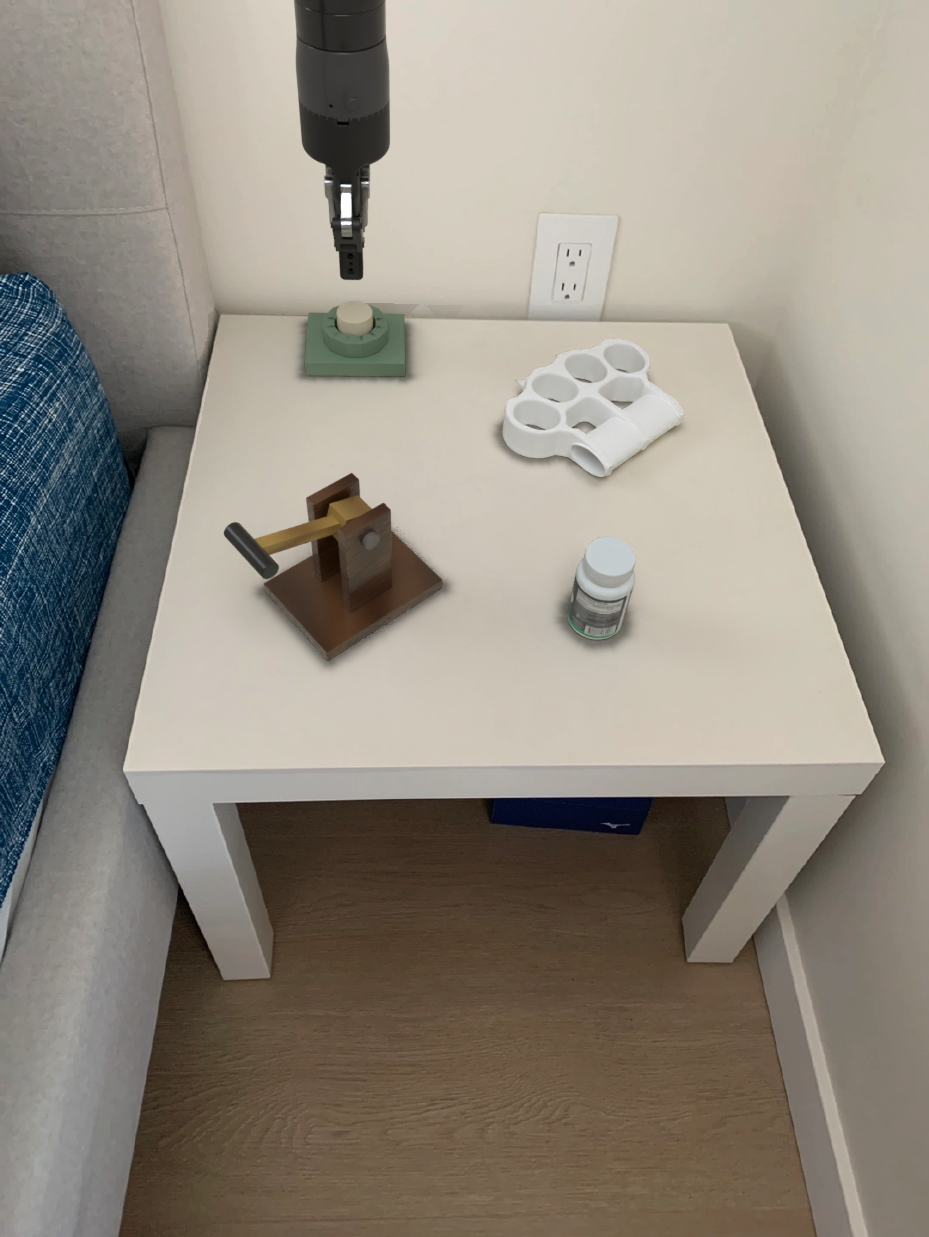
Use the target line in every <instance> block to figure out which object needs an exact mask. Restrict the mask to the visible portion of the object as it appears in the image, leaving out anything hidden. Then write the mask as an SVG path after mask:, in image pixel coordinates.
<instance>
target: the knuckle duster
mask: <svg viewBox="0 0 929 1237" xmlns="http://www.w3.org/2000/svg"><path fill="white" fill-rule="evenodd" d="M650 368H651V360H650V356H649V354H648V353H647V351H646V350H645V349H644V348H643V347H641V346H640V345H638V344H637V343H635V342H633V341H630V340H627V339H624V338H605V339H604V340H603V341H602V342H601V343H600V344H599V345H596V346H594V347H591V348H583V349H581V348H580V349H579V348H574V349H571V350H568V351H565V352H562V353H559V354H558V355H557V354H556V355H555V360H554V361H553V362H551V363H549V364H548V365H544V366H541V367H536V368H535V369H534V370H533V371H532V373H530V374H529V375H528V377H527V378H524V379H515V380H514V381H515V382H516V384H517V385H518V386H519V388H520V389H521V391H522V392H521V393H520V394H519V395H517V396H516V397H512V398H510V399H508V400H507V401H506V404H505V407H504V416H503V424H502V438H503V440H504V443H505V444H506V446H507V447H508V448H509V449H510V450H512V452H514V453H516V454H518V455H520V456H523V457H524V458H525V457H526V458H530V459H545V458H546V459H547V458H550V457H553V456H559V457H565V458H568V459H570V460H571V461H573V462H574V463H576V464H577V465H578V466H579V467H581V468H582V469H583V470H584V471H586V472H587V473H589V474H591V475H592V476H595V477H598V478H605V477H608V476H610V475H611V474H612V472H613V471H614V470H616V468H618V467H620V466H621V465H622V464H624V463H625V462H627V461H628V460H629V459H631V458H632V457H633V456H635V455H636V454H637V453H639V452H640V451H645V450H646V449H647V448H648V446H649V445H650V444H651V443H653V442H654V441H656V440H657V439H659V438H660V437H661V436H662V435H664V434H665V433H667V432H668V431H670V430H671V429H672V428H674V427H678V426H679V425H681V423H682V421H683V420H684V418H685V412H684V409H683V408H682V406H681V405H680V403H679V402H678V401H677V400H676V399H675V398H674V397H673V396H672V395H670V394H669V393H666V391H665V390H663V389H662V388H660V387H659V386H658V385H656V384H654V383H653V382H651V381H650V380H649V377H648V375H649V372H650ZM621 370H622V371H621ZM579 379H581V380H586V381H587V382H585V381H581V380H579ZM553 400H554V401H553ZM613 402H621V403H626V402H627V403H628V402H629V403H630V404H629V405H627V406H626V407H624V408H623V409H622V408H621V407H619V406H617V405H616V404H615V403H613ZM584 422H585V423H589V424H591V425H592V426H594V427H595V428H594V429H592V430H590V431H589V432H588V433H587V434H586V433H585V432H583V431H582V430H581V429H579V428H575V426H577V425H578V424H580V423H584ZM529 425H530V426H529ZM531 425H532V426H535V427H538V428H541V429H537V428H533V427H531ZM573 427H574V428H573Z"/></svg>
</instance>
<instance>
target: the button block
mask: <svg viewBox="0 0 929 1237" xmlns="http://www.w3.org/2000/svg"><path fill="white" fill-rule="evenodd" d="M368 305H369V306H370V307H371V309H372V311H373V328H372V330H371V332H370V333H368V334H365V335H362V336H348V335H345V334H343V333H341V332H340V331H339V330H338V327H337V313H336V312H337V309H338V307H339V306H340V305H337V306H334V307H332V308H331V309H329V311H328V312H308V314H307V326H306V327H307V328H306V340H305V354H304V370H305V376H307V377H309V376H313V377H315V376H317V377H318V376H319V377H323V376H324V377H406V340H405V339H406V337H405V336H406V335H405V334H406V333H405V314H404V313H384V312H382V310H381V309H380V308H379V307H375V306H373V305H370V304H368Z"/></svg>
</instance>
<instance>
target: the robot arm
mask: <svg viewBox="0 0 929 1237" xmlns="http://www.w3.org/2000/svg"><path fill="white" fill-rule="evenodd" d="M293 5H294V7H293V8H294V17H295V18H294V19H295V33H296V35H295V37H296V41H295V75H296V87H297V98H298V100H297V101H298V108H299V109H298V111H299V112H298V113H299V124H300V138H301V144H302V148H303V150H304V152H305V153H306V154H307V156H309V157H310V158H311V159H313V160H314V161H316V162H318V163H320V164H323V165H325V166H324V167H325V170H324V171H325V175H324V176H323V187H324V197H325V198H326V199H327V202H328V203H327V204H328V216H329V217H328V218H329V224H330V229H331V231H332V237H333V247H334V248H335V252H338V262H339V263H338V264H339V276H340V279H342V280H344V281H360V280H363V278H364V249H365V243H366V237H365V236H364V233H366V227H367V226H368V224H369V199H370V196H371V165H372V164H375V163H376V162H378V161H380V160H381V159H382V158H384V157H385V155H386V154H387V153H388V151H389V149H390V147H391V103H390V102H391V93H390V92H391V90H390V88H391V87H390V86H391V85H390V81H391V80H390V77H391V76H390V58H389V51H388V43H387V0H293Z"/></svg>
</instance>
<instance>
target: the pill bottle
mask: <svg viewBox="0 0 929 1237" xmlns="http://www.w3.org/2000/svg"><path fill="white" fill-rule="evenodd" d="M636 557H637V556H636V553H635V551H634V549H633V547H632V546H631V545H630V544H629V543H627V541H625V540H623V539H620V538H618V537H615V536H601V537H597V538H595V539H593V540H592V541H591V542H590V543H588V545H587V546H586V548H585V551H584V554H583V557H582V558H581V559H580V561H579V562H578V564H577V567H576V570H575V574H574V580H573V585H572V588H571V594H570V598H569V603H568V607H567V621H568V623H569V625H570V626H571V628H572V629H573V631H575V632H576V633H577V634H578V635H579V636H582V637H583V638H586V639H589V640H596V641H599V640H606V639H609V638H612V637H613V636H614V635H616V634H617V633H618V632H619V631H620V630H621V629H622V625H623V624H624V620H625V617H626V613H627V609H628V607H629V602H630V599H631V597H632V593H633V590H634V588H635V584H636V573H635V566H636V563H637V562H636V560H637V558H636Z"/></svg>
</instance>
